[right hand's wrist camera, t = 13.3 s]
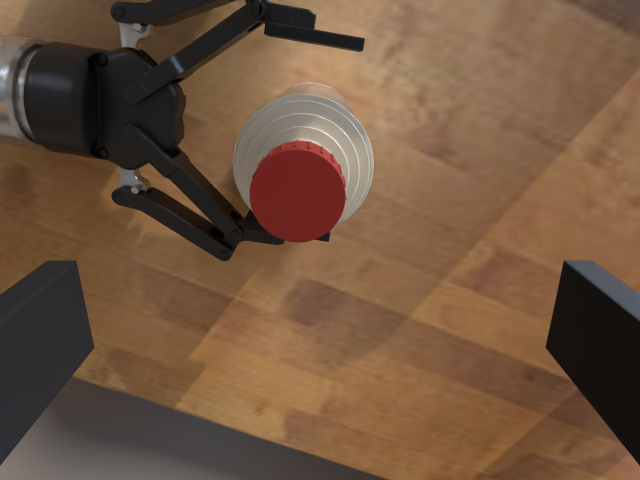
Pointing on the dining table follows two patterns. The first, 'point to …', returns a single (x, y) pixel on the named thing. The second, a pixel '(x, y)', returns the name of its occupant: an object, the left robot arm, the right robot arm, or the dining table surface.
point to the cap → (298, 191)
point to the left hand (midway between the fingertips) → (345, 145)
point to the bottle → (307, 138)
